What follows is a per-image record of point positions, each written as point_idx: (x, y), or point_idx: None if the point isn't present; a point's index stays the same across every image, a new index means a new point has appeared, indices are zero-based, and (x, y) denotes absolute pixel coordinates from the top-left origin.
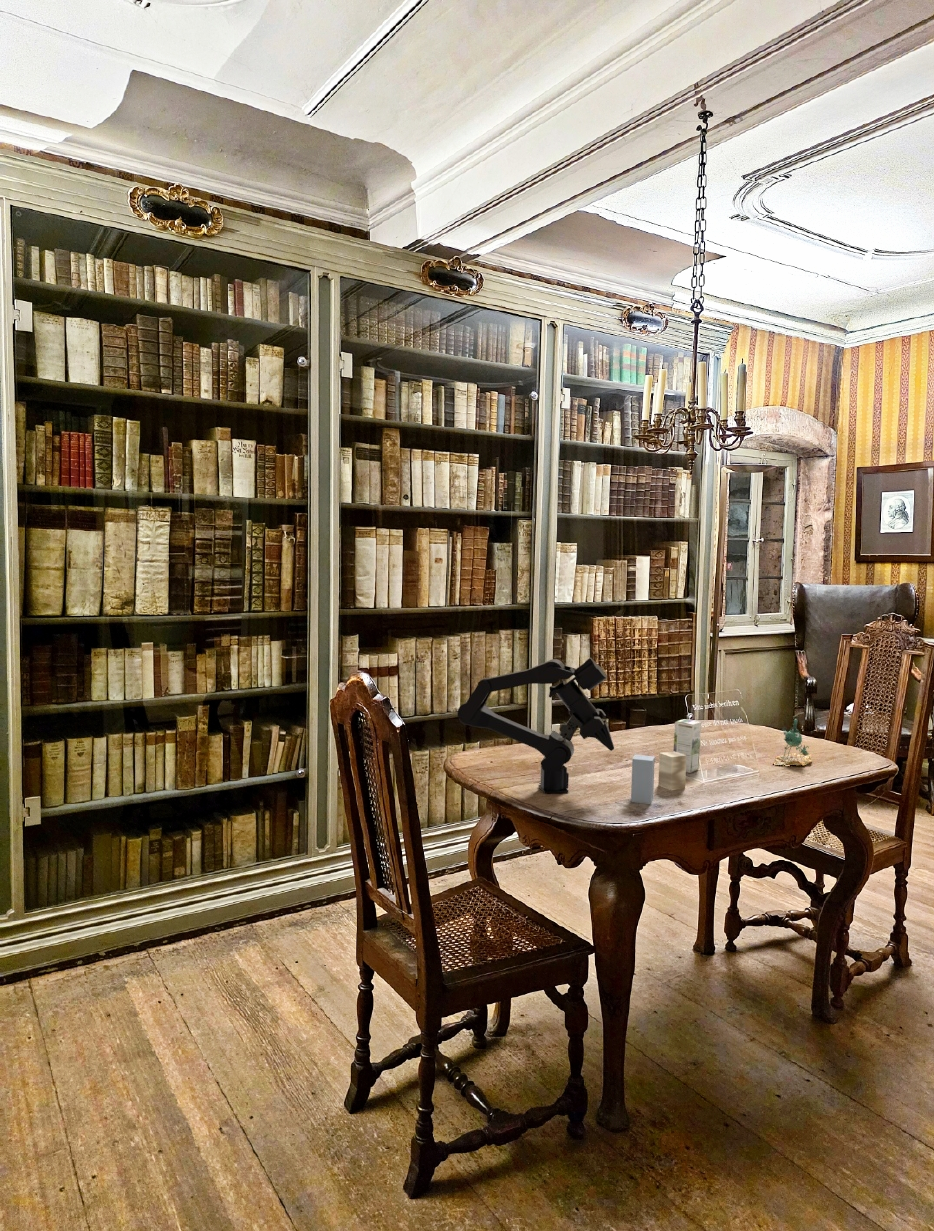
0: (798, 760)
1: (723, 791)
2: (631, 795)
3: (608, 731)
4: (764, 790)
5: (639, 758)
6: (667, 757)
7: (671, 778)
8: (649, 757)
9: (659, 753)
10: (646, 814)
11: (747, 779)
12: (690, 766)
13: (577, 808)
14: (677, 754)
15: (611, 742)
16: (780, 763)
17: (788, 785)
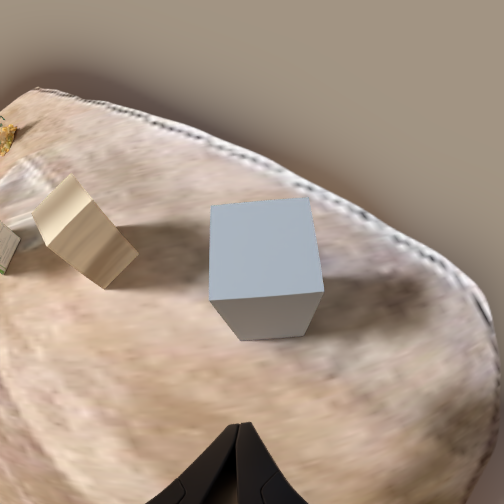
0: (6, 133)
1: (125, 161)
2: (305, 331)
3: (305, 501)
4: (111, 121)
5: (295, 259)
6: (80, 218)
7: (123, 236)
8: (245, 221)
9: (48, 247)
10: (394, 269)
11: (55, 154)
12: (12, 232)
13: (434, 443)
14: (62, 194)
15: (265, 447)
16: (6, 146)
17: (85, 111)
